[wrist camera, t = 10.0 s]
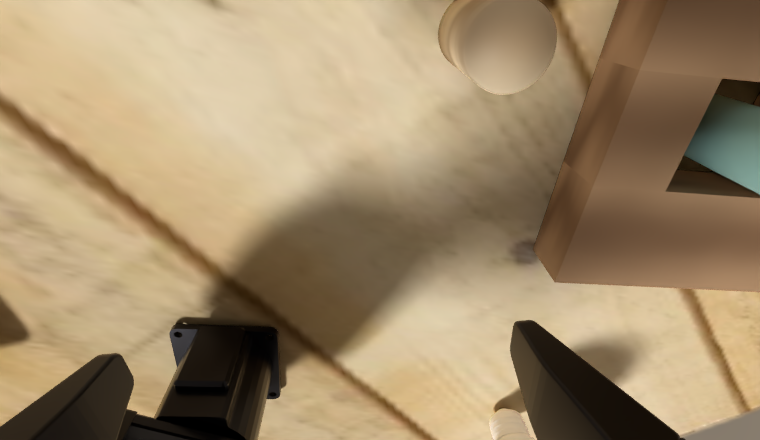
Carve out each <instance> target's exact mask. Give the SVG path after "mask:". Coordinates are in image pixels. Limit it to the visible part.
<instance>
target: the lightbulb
mask: <svg viewBox="0 0 760 440" xmlns="http://www.w3.org/2000/svg"><path fill="white" fill-rule="evenodd" d="M489 425H490V430H491V434H492V437H493V440H535V439H534V438H533V437H531V436H530V434H529V432H528V429H527V426H526V424H525V422H524V420H523V418H522V416H521V414H520V413H519V412H517V411H515V410H512V409H506V408H502V409H499V410H498V411H497V412H496V413H494V414H493V415H492V416H491V418H490V420H489Z"/></svg>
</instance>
